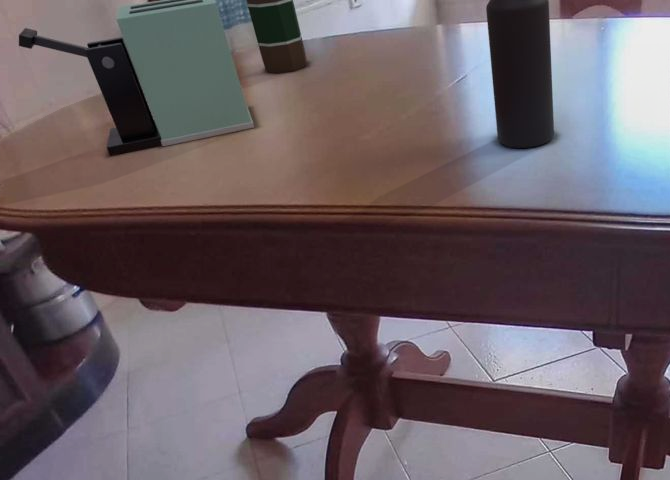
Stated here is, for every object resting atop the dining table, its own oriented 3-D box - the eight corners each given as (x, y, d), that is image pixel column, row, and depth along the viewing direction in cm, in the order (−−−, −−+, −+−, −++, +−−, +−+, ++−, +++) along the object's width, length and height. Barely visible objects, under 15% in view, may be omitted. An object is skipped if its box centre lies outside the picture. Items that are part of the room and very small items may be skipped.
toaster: (162, 146, 95) (113, 18, 85) (162, 125, 103) (118, 5, 93) (254, 127, 98) (217, 1, 88) (247, 108, 106) (212, -10, 96)
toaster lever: (18, 50, 86) (18, 30, 85) (24, 42, 90) (25, 23, 89) (119, 74, 91) (121, 55, 90) (121, 66, 95) (123, 47, 94)
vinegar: (546, 149, 81) (537, -47, 69) (491, 148, 83) (472, -43, 71) (559, 129, 86) (553, -58, 74) (506, 128, 88) (492, -54, 76)
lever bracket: (110, 156, 94) (67, 56, 86) (113, 136, 101) (74, 42, 93) (171, 143, 96) (135, 44, 88) (171, 124, 103) (137, 31, 95)
